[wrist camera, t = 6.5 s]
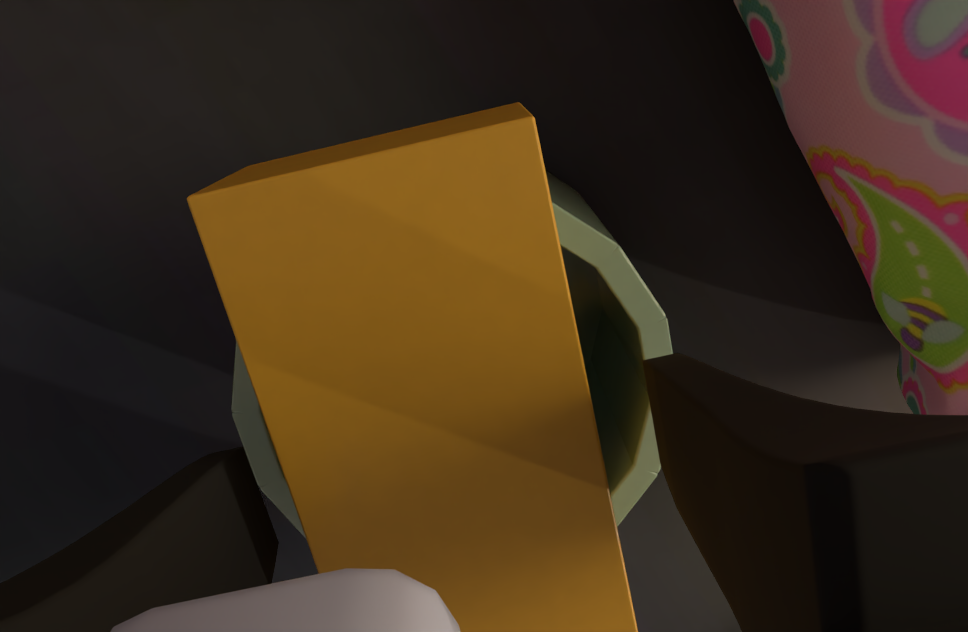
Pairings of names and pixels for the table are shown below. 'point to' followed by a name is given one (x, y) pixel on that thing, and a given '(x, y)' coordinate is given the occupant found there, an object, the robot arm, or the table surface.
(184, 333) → the table surface
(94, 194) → the table surface
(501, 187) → the block
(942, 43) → the pencil case
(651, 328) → the cup
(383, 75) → the table surface
